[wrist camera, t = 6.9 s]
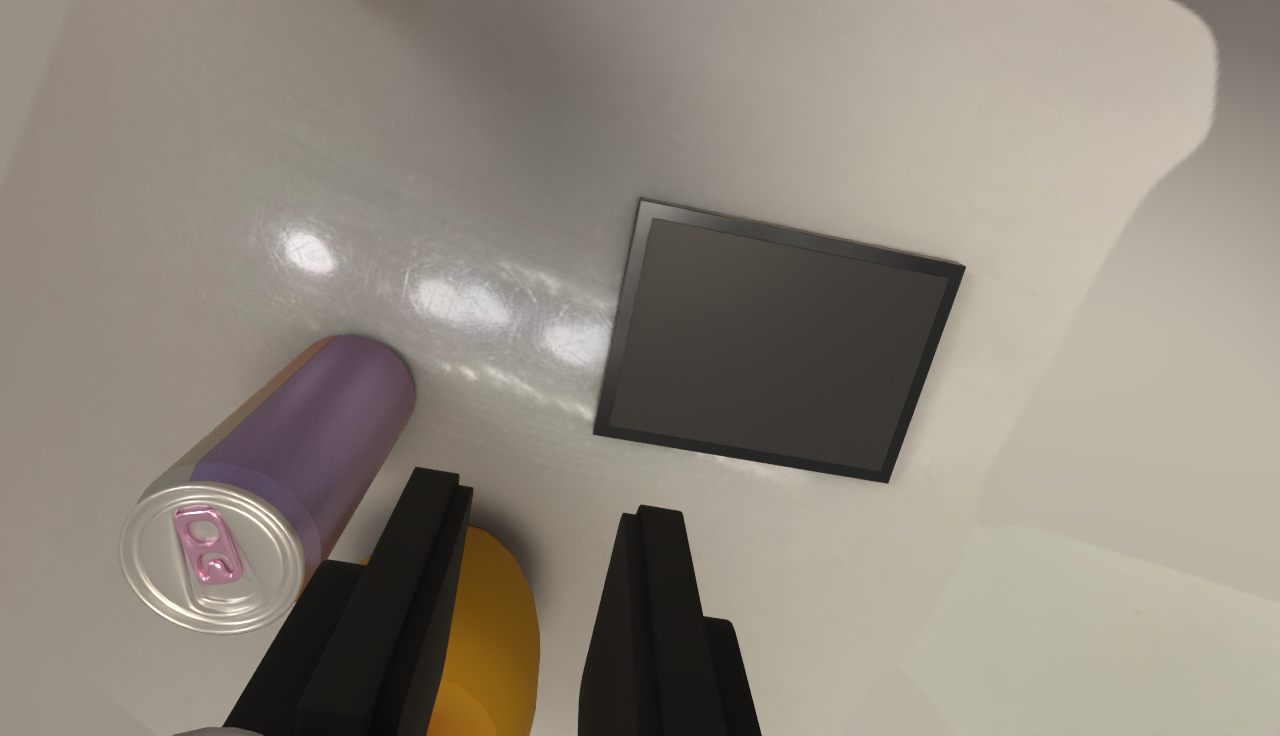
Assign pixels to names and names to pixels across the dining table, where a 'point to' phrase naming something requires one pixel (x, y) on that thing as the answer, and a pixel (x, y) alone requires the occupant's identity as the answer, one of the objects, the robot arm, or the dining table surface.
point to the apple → (489, 647)
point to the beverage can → (267, 490)
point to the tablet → (770, 342)
